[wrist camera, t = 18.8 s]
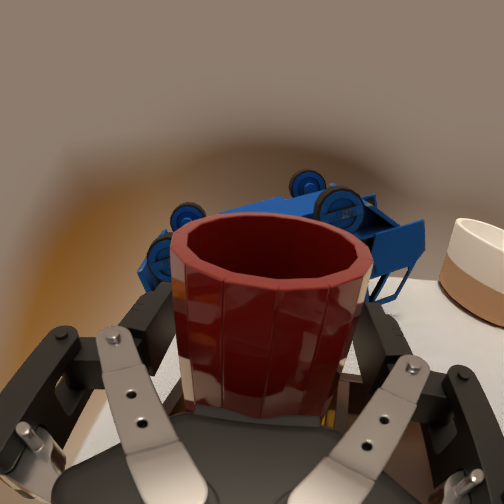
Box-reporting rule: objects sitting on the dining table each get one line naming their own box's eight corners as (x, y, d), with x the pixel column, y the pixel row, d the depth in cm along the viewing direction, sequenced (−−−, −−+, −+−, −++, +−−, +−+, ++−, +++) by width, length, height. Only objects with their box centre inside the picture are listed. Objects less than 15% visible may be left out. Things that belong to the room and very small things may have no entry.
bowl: (548, 326, 23) (572, 273, 20) (479, 332, 24) (509, 261, 20) (491, 272, 39) (506, 228, 36) (420, 263, 39) (434, 210, 36)
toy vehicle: (157, 211, 33) (192, 298, 37) (123, 252, 22) (180, 364, 26) (365, 154, 32) (378, 246, 36) (424, 169, 21) (427, 291, 25)
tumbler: (327, 456, 13) (408, 258, 8) (229, 510, 10) (234, 317, 5) (265, 392, 18) (288, 206, 13) (176, 425, 15) (148, 222, 10)
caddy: (205, 379, 19) (203, 342, 18) (444, 416, 15) (466, 383, 14) (142, 483, 11) (125, 456, 10) (457, 525, 7) (494, 501, 6)
